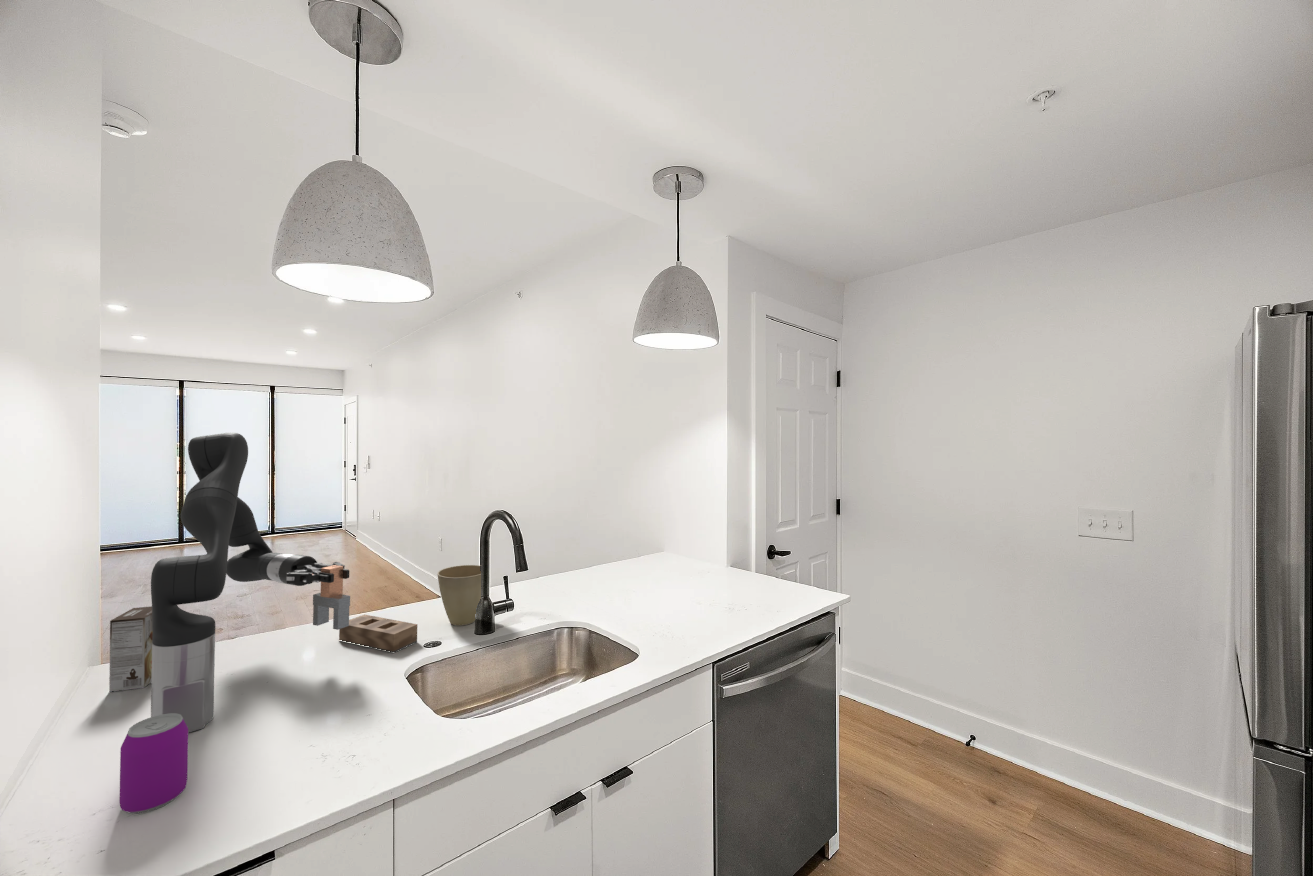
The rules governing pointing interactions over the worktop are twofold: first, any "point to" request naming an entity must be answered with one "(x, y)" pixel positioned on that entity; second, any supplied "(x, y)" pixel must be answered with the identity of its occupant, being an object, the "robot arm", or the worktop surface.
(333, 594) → the block on stand
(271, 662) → the worktop surface
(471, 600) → the plant pot
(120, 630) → the coffee box
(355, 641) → the slotted block
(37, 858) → the worktop surface
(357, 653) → the worktop surface
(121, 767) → the beverage can
